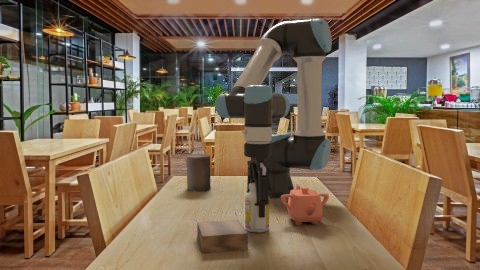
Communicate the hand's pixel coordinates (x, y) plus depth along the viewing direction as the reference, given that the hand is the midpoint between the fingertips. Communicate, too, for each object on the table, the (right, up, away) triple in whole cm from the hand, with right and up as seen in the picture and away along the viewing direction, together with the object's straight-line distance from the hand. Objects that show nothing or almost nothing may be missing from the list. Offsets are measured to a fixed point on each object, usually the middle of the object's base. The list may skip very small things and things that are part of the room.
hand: (257, 224), depth 110 cm
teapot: (+15, -1, +8) cm, 17 cm away
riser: (-9, -2, -11) cm, 14 cm away
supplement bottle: (0, -2, 0) cm, 2 cm away
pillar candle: (-22, +3, +51) cm, 56 cm away
